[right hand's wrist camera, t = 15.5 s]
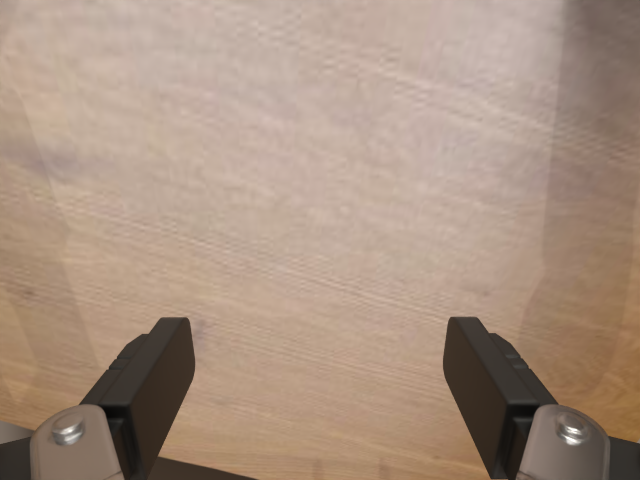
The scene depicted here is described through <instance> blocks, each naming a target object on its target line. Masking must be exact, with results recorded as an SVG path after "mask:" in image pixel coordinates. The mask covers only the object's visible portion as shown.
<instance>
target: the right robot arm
mask: <svg viewBox="0 0 640 480" xmlns="http://www.w3.org/2000/svg"><path fill="white" fill-rule="evenodd" d="M443 370H444V375H445V379H446V381H447V383H448V386H449V388H450V390H451V392H452V394H453V397H454V399H455V401H456V403H457V405H458V408H459V410H460V412H461V414H462V416H463V419H464V421H465V423H466V425H467V427H468V430H469V432H470V434H471V436H472V438H473V441H474V443H475V445H476V447H477V450H478V452H479V454H480V456H481V458H482V461H483V463H484V465H485V467H486V469H487V472H488V474H489V476H490V478H491V479H508V480H640V444H639V443H635V442H631V441H627V440H623V439H618V438H614V437H610V436H608V435H607V434H606V432H605V431H604V429H603V428H602V427H601V426H600V425H599V424H598V423H597V422H596V421H594V420H593V419H592V418H590V417H589V416H587V415H586V414H584V413H582V412H580V411H578V410H575V409H573V408H570V407H567V406H563V405H559V404H558V403H557V401H556V400H555V399H554V398H553V396H552V395H551V394H550V393H549V391H548V390H547V389H546V388H545V386H544V385H543V384H542V383H541V381H540V380H539V379H538V377H537V376H536V375H535V374H534V372H533V371H532V370H531V369H529V368H528V365H527V364H526V362H525V361H524V360H523V359H522V358H520V355H519V354H518V352H517V351H516V350H515V348H514V347H513V346H512V345H511V344H510V343H509V342H508V341H506V340H505V339H503V338H502V337H500V336H499V335H497V334H496V333H489V332H488V331H487V330H486V328H485V327H484V326H483V324H482V323H481V322H480V320H479V319H478V318H477V317H450V319H449V321H448V326H447V334H446V341H445V348H444V356H443ZM194 372H195V356H194V348H193V341H192V334H191V327H190V322H189V319H188V318H186V317H162V318H160V319H159V321H158V322H157V323H156V325H155V326H154V327H153V329H152V330H151V331H150V333H149V334H141V335H140V336H139V337H137V338H136V339H134V340H133V341H131V342H130V343H128V344H127V345H126V346H125V347H124V349H123V350H122V351H121V352H120V354H119V355H118V356H117V359H115V360H114V361H113V363H112V364H111V365H110V366H109V370H106V371H105V373H104V374H103V375H102V376H101V378H100V379H99V380H98V381H97V383H96V384H95V385H94V386H93V388H92V389H91V390H90V391H89V393H88V394H87V395H86V396H85V398H84V399H83V400H82V401H81V403H80V404H79V405H77V406H73V407H70V408H67V409H65V410H62V411H60V412H58V413H56V414H54V415H53V416H51V417H50V418H48V419H47V420H46V421H44V422H43V423H42V424H41V425H40V426H39V427H38V428H37V429H36V431H35V432H34V434H33V435H32V436H31V437H28V438H24V439H20V440H16V441H12V442H8V443H3V444H0V480H147V478H148V476H149V474H150V471H151V469H152V467H153V465H154V463H155V460H156V458H157V456H158V454H159V452H160V450H161V447H162V445H163V443H164V441H165V439H166V437H167V434H168V432H169V430H170V428H171V426H172V424H173V421H174V419H175V417H176V415H177V413H178V411H179V408H180V406H181V404H182V402H183V400H184V397H185V395H186V393H187V391H188V389H189V387H190V384H191V382H192V380H193V376H194Z"/></svg>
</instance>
